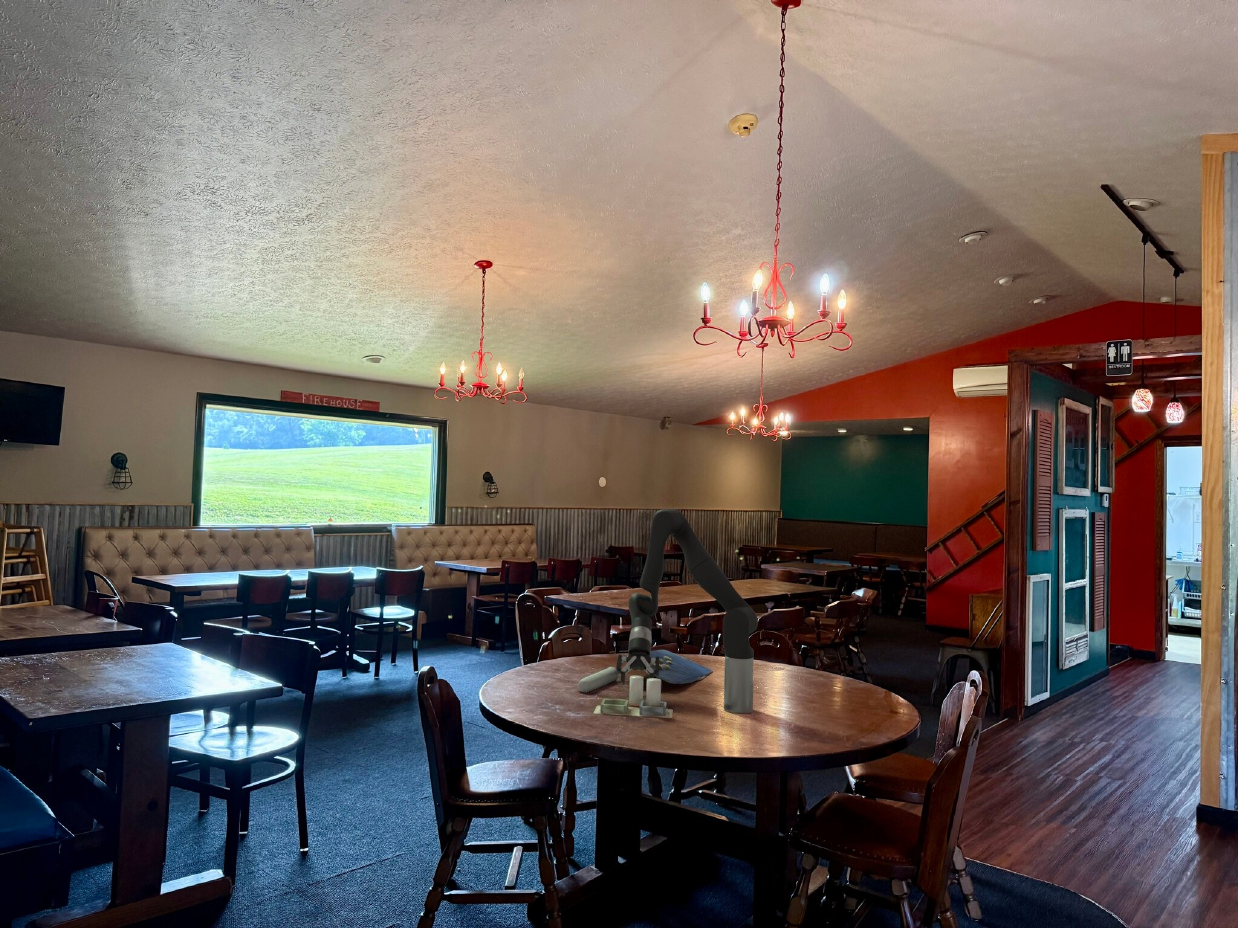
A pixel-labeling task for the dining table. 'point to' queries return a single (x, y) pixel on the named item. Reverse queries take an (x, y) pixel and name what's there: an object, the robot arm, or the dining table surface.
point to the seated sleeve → (653, 692)
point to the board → (632, 709)
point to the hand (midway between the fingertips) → (636, 684)
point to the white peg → (636, 690)
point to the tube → (598, 679)
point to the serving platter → (677, 668)
